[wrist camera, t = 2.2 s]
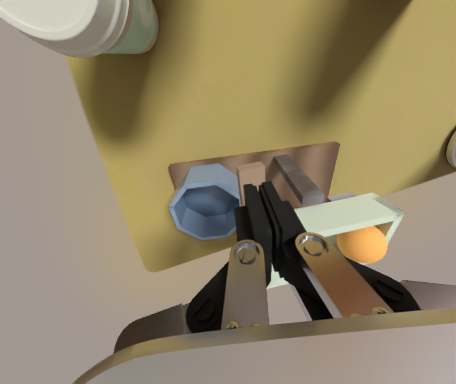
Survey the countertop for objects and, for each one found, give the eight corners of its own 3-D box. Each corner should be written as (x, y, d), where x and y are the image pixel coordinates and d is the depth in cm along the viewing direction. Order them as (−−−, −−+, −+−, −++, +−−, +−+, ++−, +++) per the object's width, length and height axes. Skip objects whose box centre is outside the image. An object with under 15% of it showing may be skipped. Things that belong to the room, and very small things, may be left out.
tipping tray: (374, 129, 16) (443, 145, 12) (342, 227, 23) (378, 261, 19) (230, 156, 15) (246, 185, 11) (243, 250, 22) (255, 291, 18)
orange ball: (366, 209, 18) (407, 237, 14) (356, 236, 20) (389, 266, 17) (331, 218, 17) (366, 249, 14) (324, 244, 20) (353, 276, 16)
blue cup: (237, 160, 25) (241, 177, 21) (243, 212, 31) (247, 235, 26) (171, 169, 26) (160, 188, 21) (188, 219, 31) (182, 242, 27)
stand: (335, 141, 26) (409, 179, 15) (322, 200, 31) (370, 255, 21) (170, 164, 27) (138, 213, 17) (188, 216, 33) (173, 276, 23)
